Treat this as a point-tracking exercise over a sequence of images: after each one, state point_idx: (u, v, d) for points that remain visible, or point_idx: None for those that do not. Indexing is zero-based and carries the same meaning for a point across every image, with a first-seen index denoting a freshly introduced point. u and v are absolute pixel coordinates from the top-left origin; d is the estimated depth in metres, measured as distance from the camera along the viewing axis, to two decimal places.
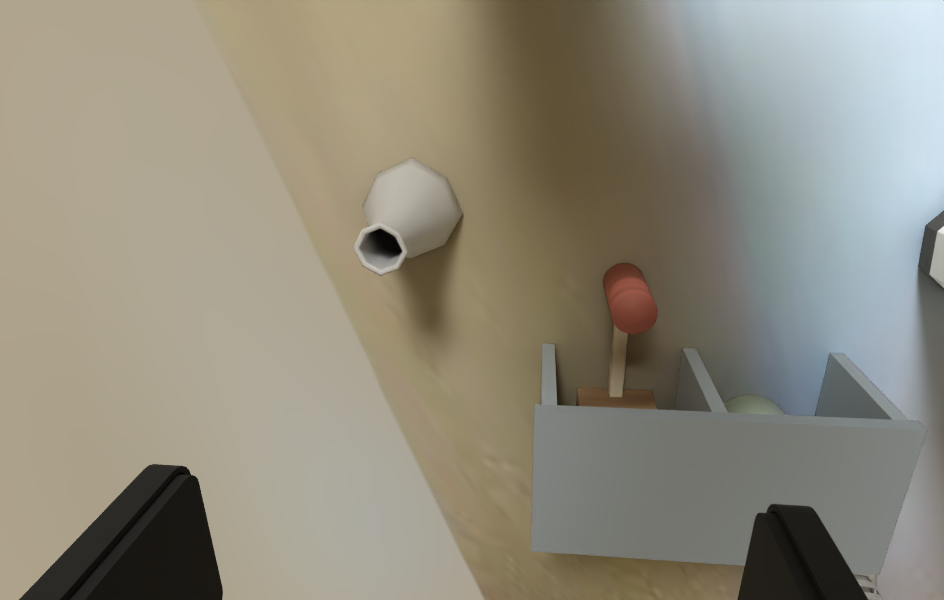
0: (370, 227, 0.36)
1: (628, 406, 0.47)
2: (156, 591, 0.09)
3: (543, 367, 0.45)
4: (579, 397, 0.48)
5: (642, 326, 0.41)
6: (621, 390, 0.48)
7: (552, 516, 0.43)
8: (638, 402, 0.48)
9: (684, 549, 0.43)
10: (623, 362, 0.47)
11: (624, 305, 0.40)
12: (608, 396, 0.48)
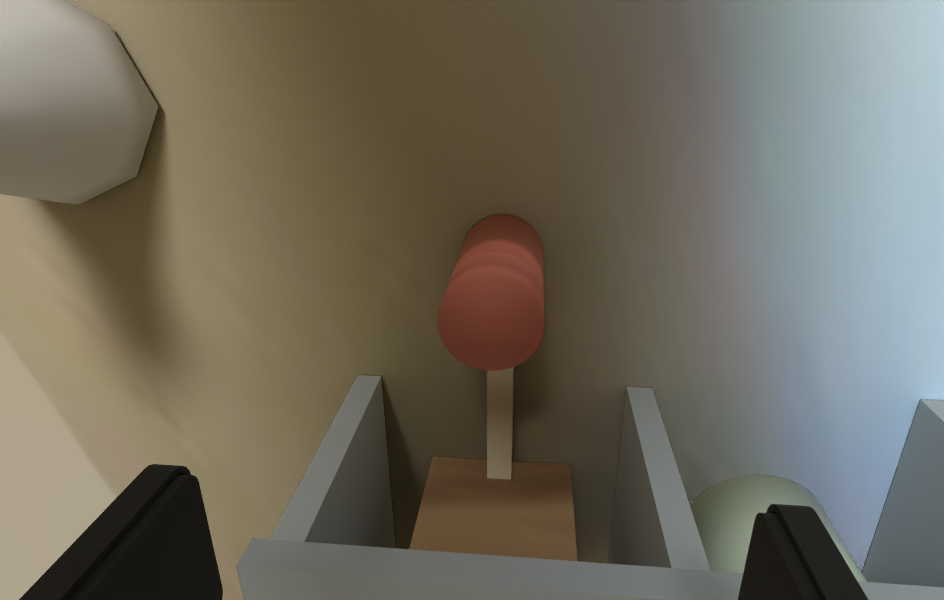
0: None
1: (519, 501, 0.24)
2: (156, 591, 0.09)
3: (330, 431, 0.22)
4: (428, 479, 0.25)
5: (510, 353, 0.17)
6: (508, 467, 0.25)
7: None
8: (539, 492, 0.24)
9: None
10: (508, 415, 0.24)
11: (465, 303, 0.17)
12: (485, 477, 0.25)
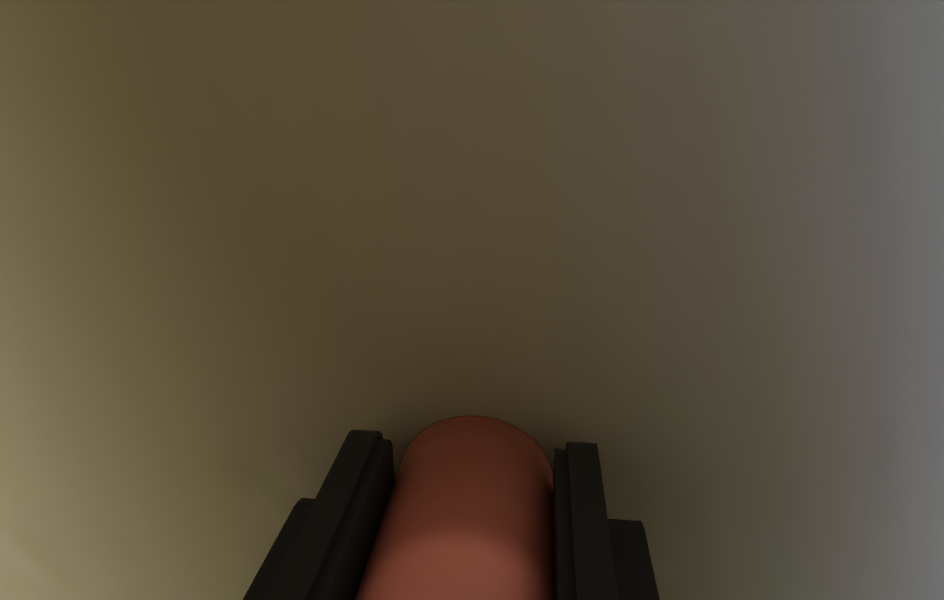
0: None
1: None
2: None
3: None
4: None
5: None
6: None
7: None
8: None
9: None
10: None
11: None
12: None
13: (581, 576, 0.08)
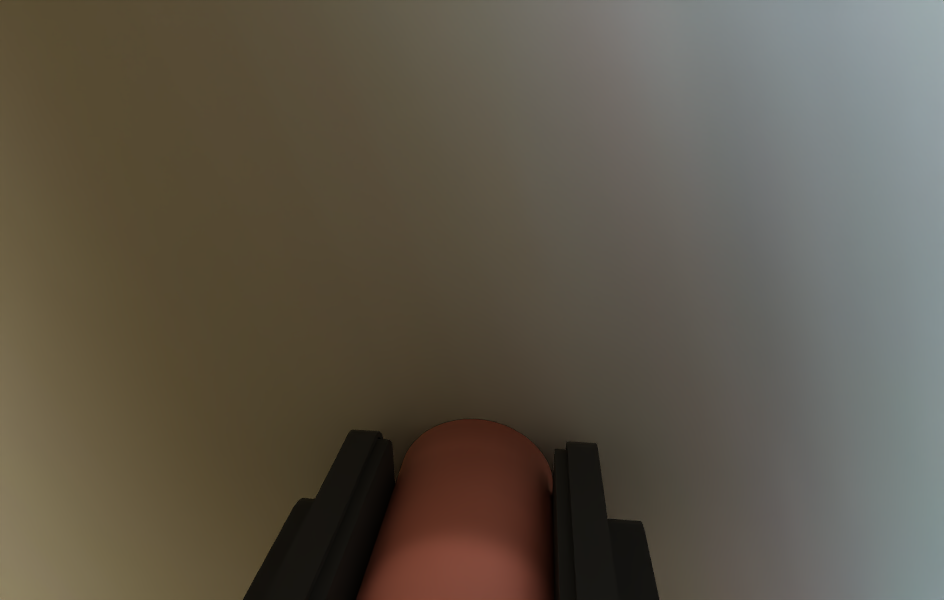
0: None
1: None
2: (374, 542, 0.10)
3: None
4: None
5: None
6: None
7: None
8: None
9: None
10: None
11: None
12: None
13: (581, 576, 0.08)
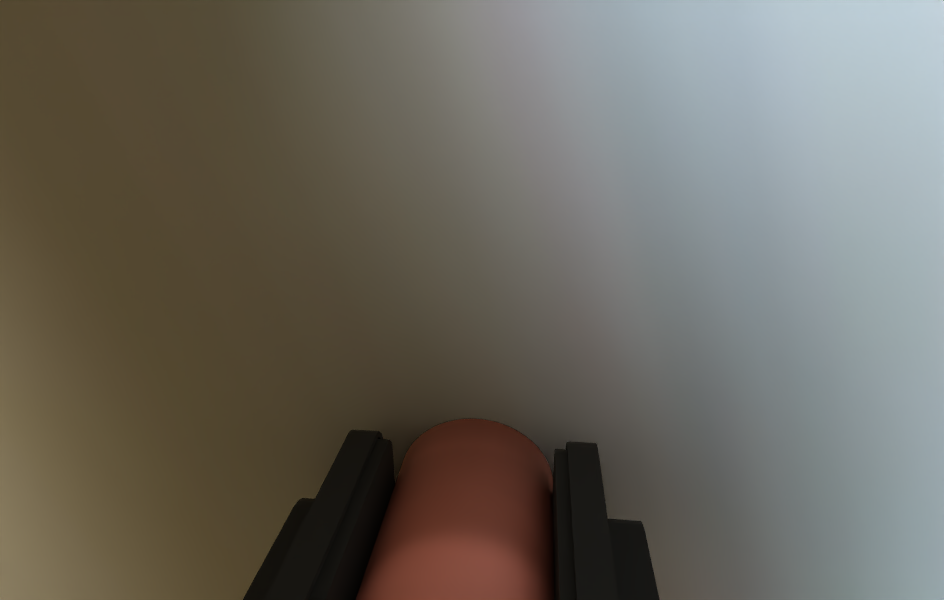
0: None
1: None
2: (373, 542, 0.10)
3: None
4: None
5: None
6: None
7: None
8: None
9: None
10: None
11: None
12: None
13: (581, 576, 0.08)
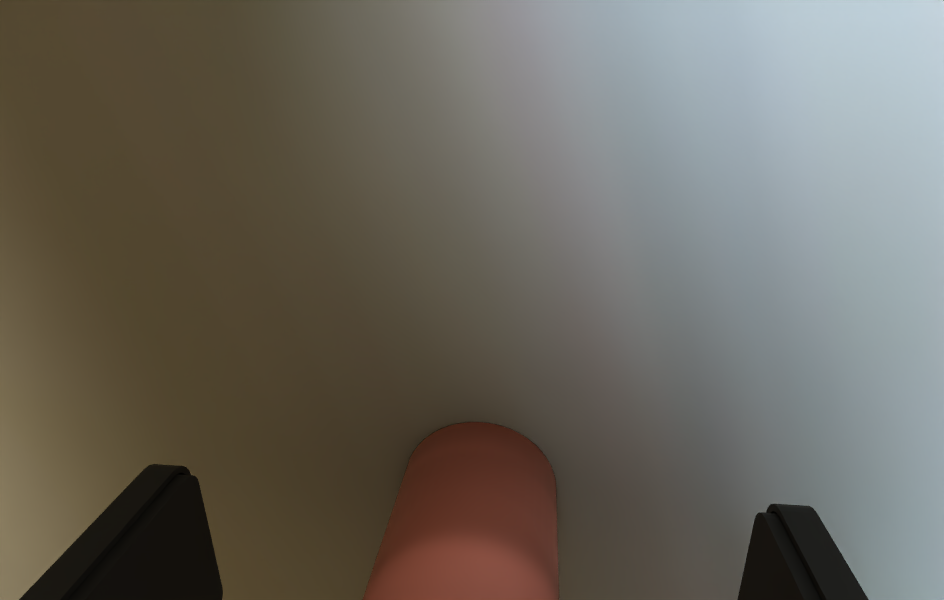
0: None
1: None
2: (156, 591, 0.09)
3: None
4: None
5: None
6: None
7: None
8: None
9: None
10: None
11: None
12: None
13: None
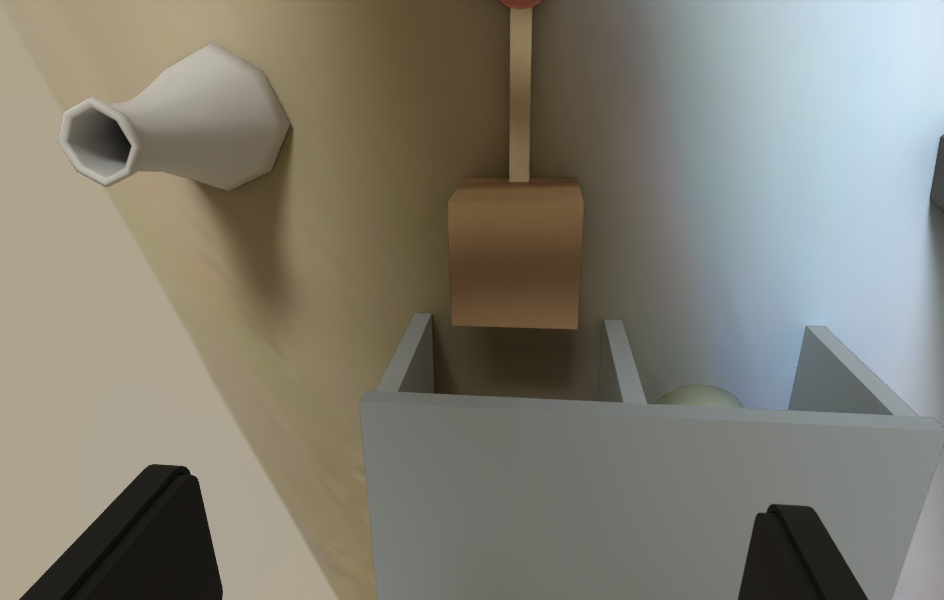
0: (77, 106, 0.23)
1: (535, 186, 0.30)
2: (156, 591, 0.09)
3: (402, 342, 0.32)
4: (462, 182, 0.31)
5: None
6: (527, 169, 0.31)
7: (402, 555, 0.29)
8: (552, 184, 0.30)
9: None
10: (527, 117, 0.30)
11: None
12: (507, 181, 0.31)
13: None
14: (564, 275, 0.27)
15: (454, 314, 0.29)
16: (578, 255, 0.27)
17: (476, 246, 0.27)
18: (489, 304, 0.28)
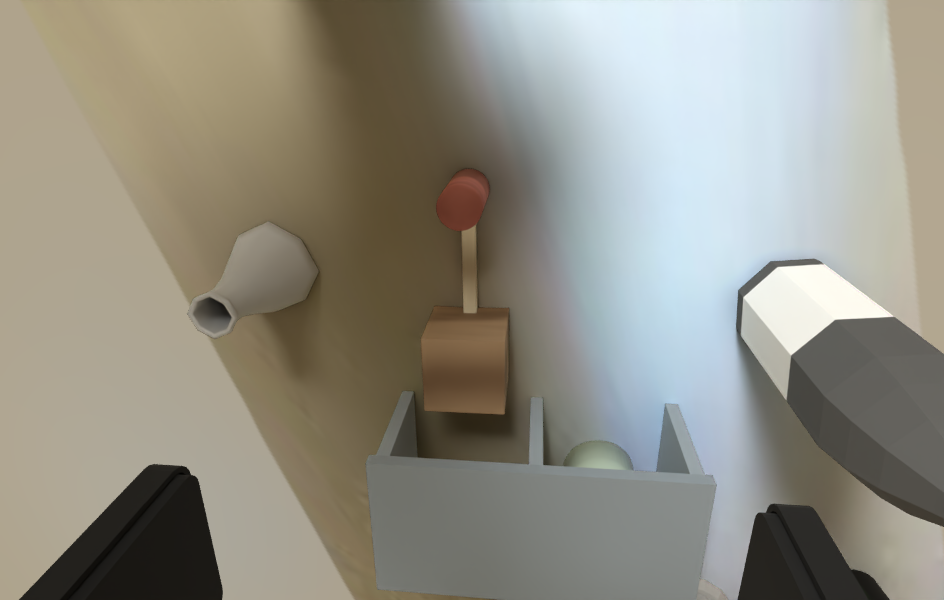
0: (200, 296, 0.39)
1: (479, 320, 0.46)
2: (156, 591, 0.09)
3: (393, 416, 0.48)
4: (432, 313, 0.47)
5: (468, 222, 0.39)
6: (474, 305, 0.47)
7: (392, 557, 0.46)
8: (490, 317, 0.46)
9: (515, 589, 0.46)
10: (473, 275, 0.46)
11: (448, 199, 0.39)
12: (462, 312, 0.47)
13: None
14: (495, 382, 0.44)
15: (426, 404, 0.45)
16: (502, 371, 0.43)
17: (439, 364, 0.44)
18: (448, 398, 0.45)
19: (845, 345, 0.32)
